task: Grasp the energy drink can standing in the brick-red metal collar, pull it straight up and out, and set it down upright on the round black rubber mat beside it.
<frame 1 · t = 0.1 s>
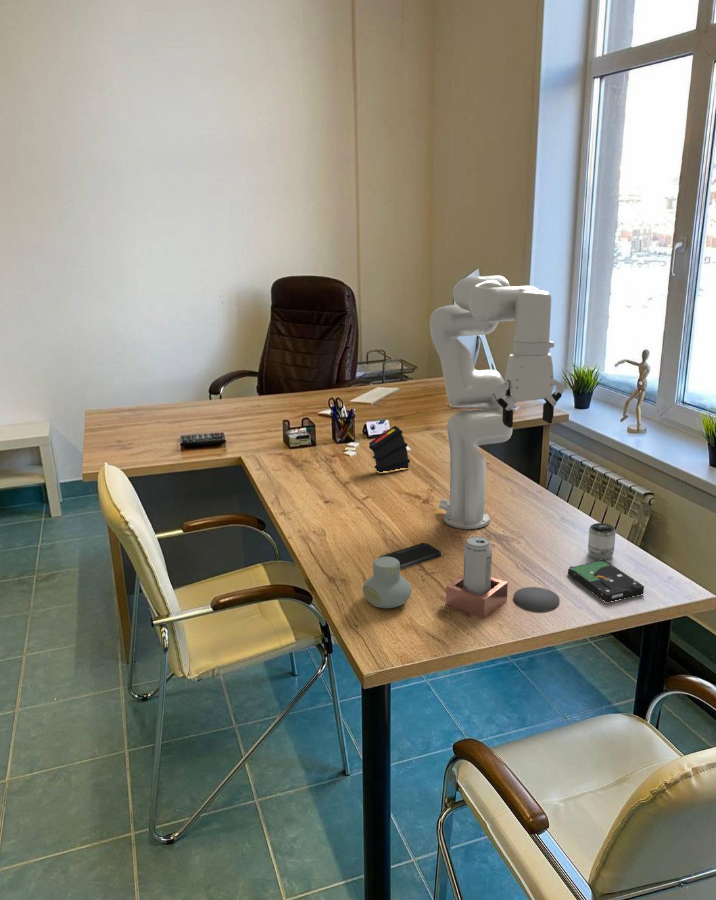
hand: (527, 423, 172), 37 cm above the table, tool pointing down, fingers open, 9 cm apart
collar: (476, 602, 171), on the table
energy drink can: (476, 603, 171), resting in collar
camera lens: (600, 555, 192), on the table
magazine: (389, 472, 253), on the table
disk drive: (604, 587, 177), on the table
mat: (536, 599, 171), on the table
air freshener: (387, 602, 172), on the table
phone: (410, 559, 193), on the table
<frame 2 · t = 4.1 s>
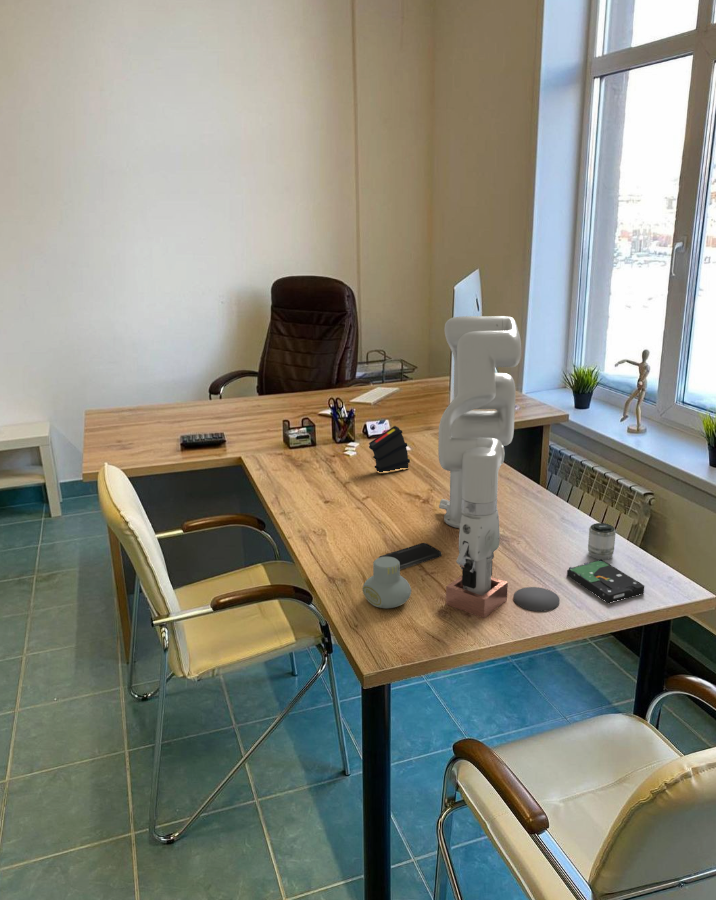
hand: (477, 579, 169), 6 cm above the table, tool pointing down, fingers closed on energy drink can, 6 cm apart
energy drink can: (476, 603, 171), resting in collar, touching gripper
everything else where it was.
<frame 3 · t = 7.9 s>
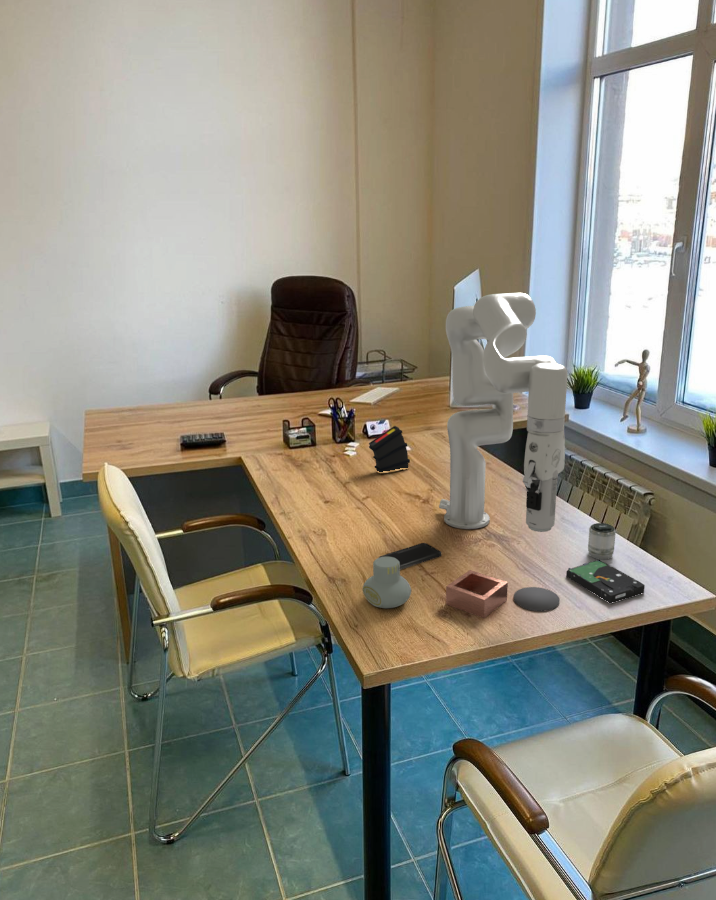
hand: (541, 503, 164), 23 cm above the table, tool pointing down, fingers closed on energy drink can, 6 cm apart
energy drink can: (539, 528, 166), point 17 cm above the table, touching gripper
everything else where it was.
when the fingers open (7 cm above the table, at t = 11.7 s): energy drink can drops 1 cm, resting on mat.
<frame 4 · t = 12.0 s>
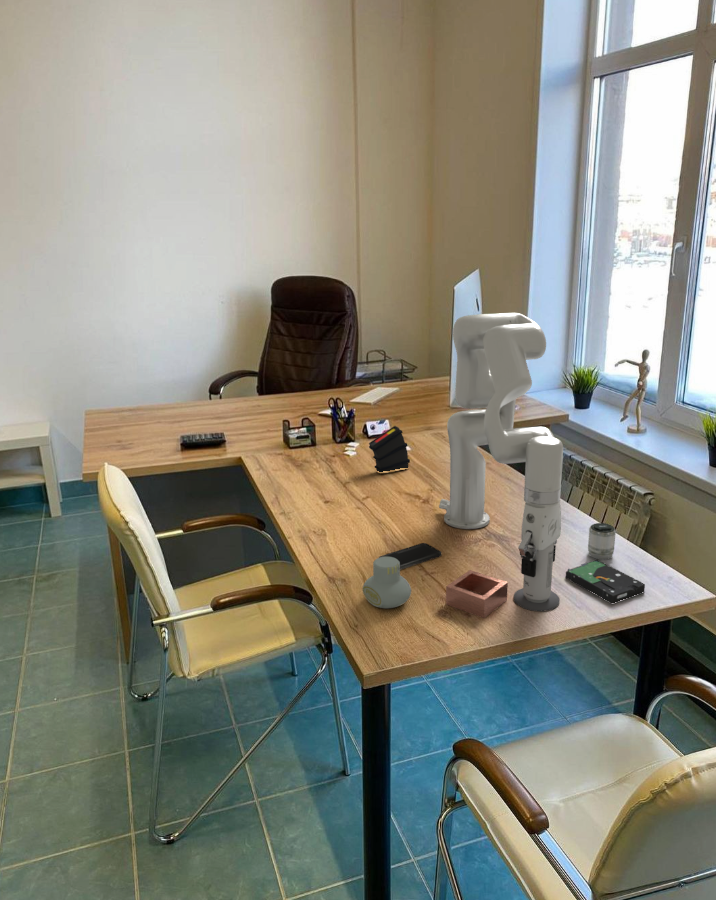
hand: (538, 567, 169), 8 cm above the table, tool pointing down, fingers open, 8 cm apart
energy drink can: (536, 598, 171), resting on mat
everything else where it was.
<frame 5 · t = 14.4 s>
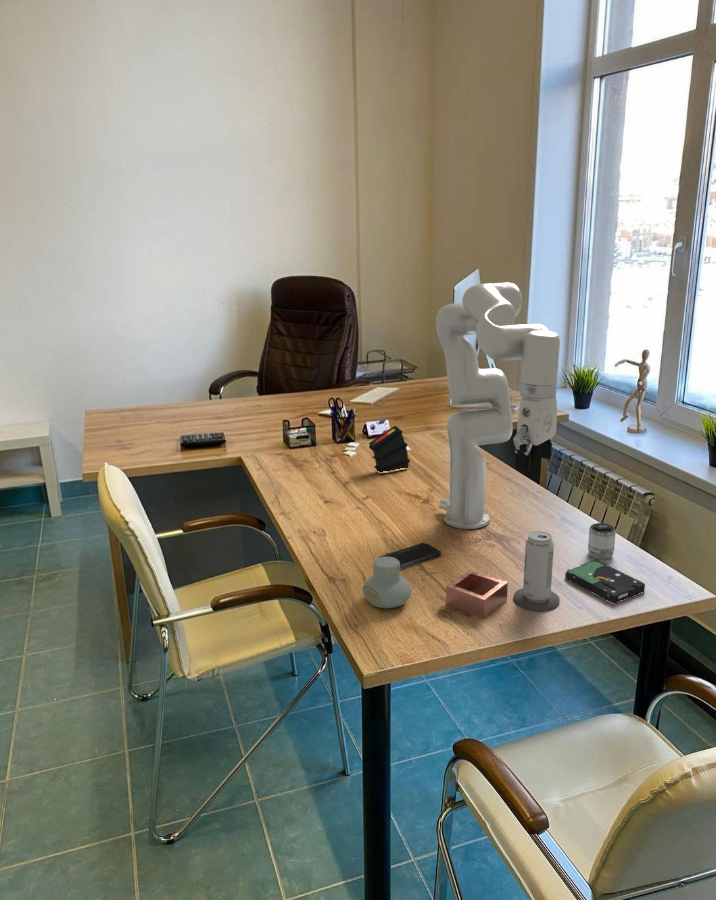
hand: (533, 464, 170), 29 cm above the table, tool pointing down, fingers open, 9 cm apart
nothing on the table moved.
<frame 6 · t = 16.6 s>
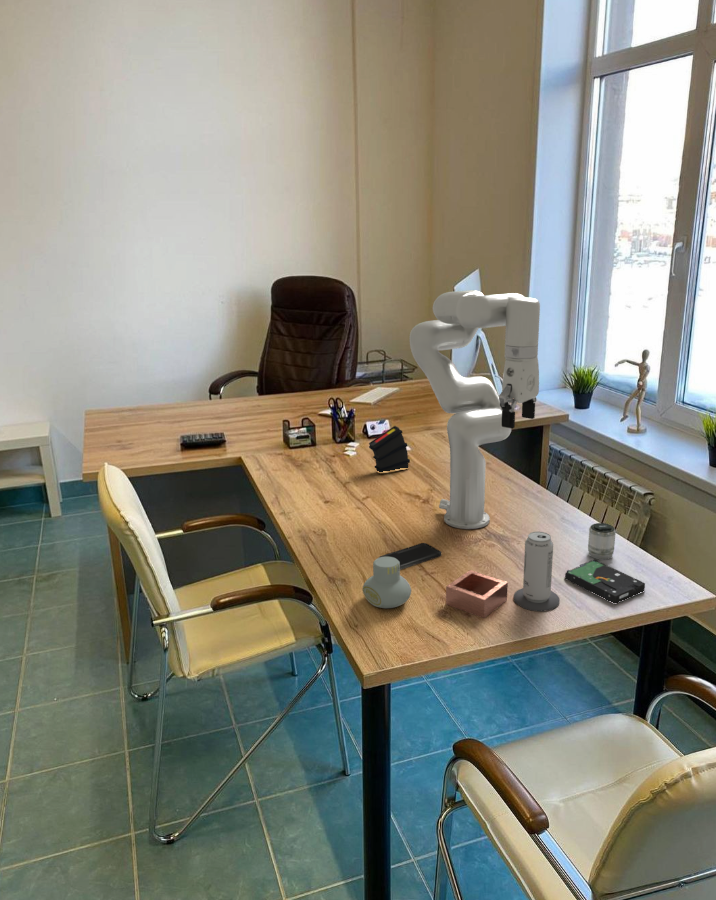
hand: (518, 422, 183), 34 cm above the table, tool pointing down, fingers open, 9 cm apart
nothing on the table moved.
at the end: energy drink can 0.2 cm from the mat (horizontally); energy drink can tilted 0°; the gripper is holding nothing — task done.
